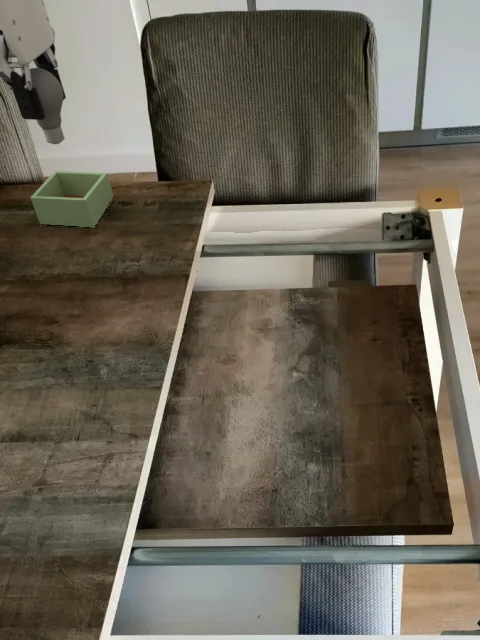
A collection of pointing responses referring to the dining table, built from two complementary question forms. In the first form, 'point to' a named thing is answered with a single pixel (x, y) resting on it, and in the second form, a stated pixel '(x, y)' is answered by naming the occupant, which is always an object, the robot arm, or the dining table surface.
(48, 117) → the light bulb
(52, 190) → the box
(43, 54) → the robot arm
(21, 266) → the dining table surface
